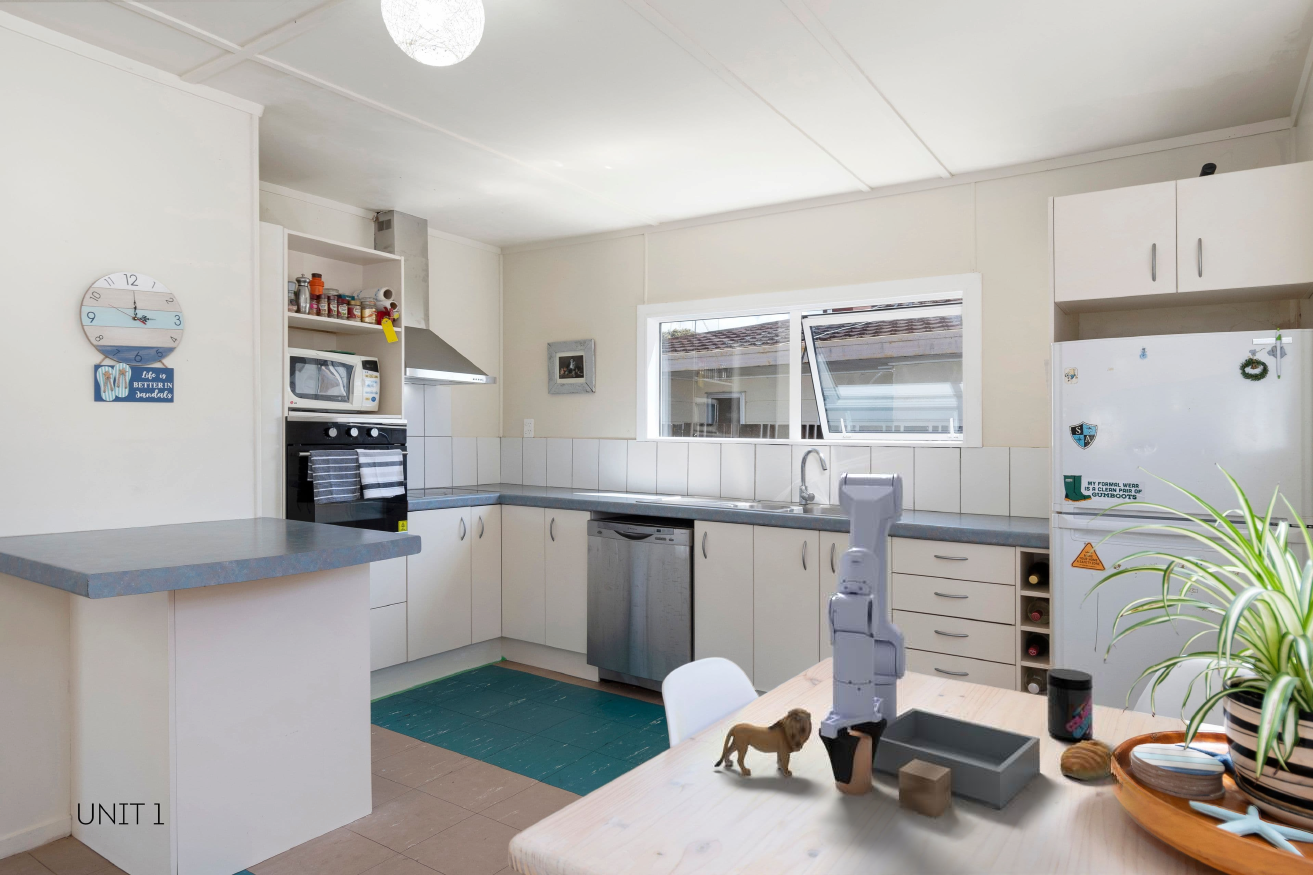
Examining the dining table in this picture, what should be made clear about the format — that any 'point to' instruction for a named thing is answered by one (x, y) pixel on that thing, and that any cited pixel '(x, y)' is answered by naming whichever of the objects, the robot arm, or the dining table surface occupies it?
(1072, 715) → the supplement container
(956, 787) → the tote
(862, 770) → the terracotta cylinder
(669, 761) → the dining table surface
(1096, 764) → the pastry
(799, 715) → the lion figurine
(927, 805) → the walnut block
